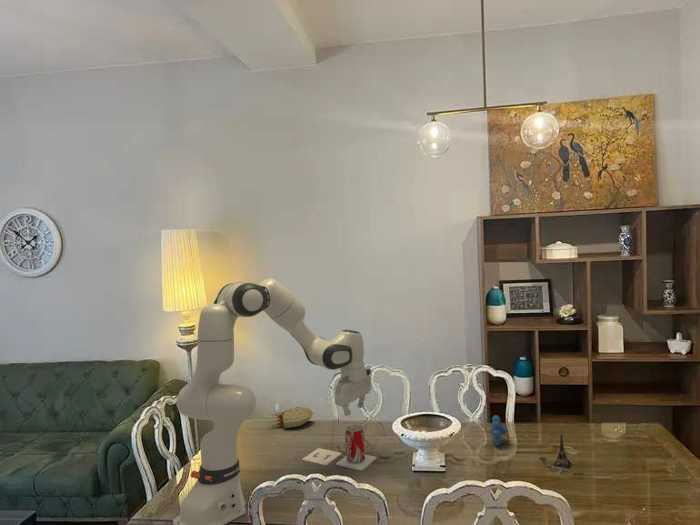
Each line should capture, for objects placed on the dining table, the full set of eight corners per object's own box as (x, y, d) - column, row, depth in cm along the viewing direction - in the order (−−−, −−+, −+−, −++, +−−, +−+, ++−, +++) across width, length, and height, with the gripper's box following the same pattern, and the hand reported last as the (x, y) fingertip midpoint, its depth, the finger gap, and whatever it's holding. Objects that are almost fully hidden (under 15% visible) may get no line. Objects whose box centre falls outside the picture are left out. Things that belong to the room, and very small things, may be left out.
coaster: (362, 470, 179) (362, 469, 179) (336, 464, 185) (336, 463, 185) (376, 458, 189) (376, 457, 189) (351, 453, 194) (351, 451, 194)
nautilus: (264, 435, 218) (267, 424, 233) (314, 428, 220) (313, 417, 235) (262, 416, 218) (265, 407, 233) (312, 410, 220) (312, 400, 235)
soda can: (363, 464, 183) (362, 432, 182) (344, 464, 184) (343, 431, 183) (366, 456, 190) (365, 424, 189) (348, 455, 191) (346, 424, 190)
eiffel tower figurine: (537, 458, 184) (536, 422, 183) (564, 456, 184) (563, 420, 184) (556, 478, 169) (555, 438, 168) (586, 475, 169) (585, 436, 169)
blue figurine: (509, 452, 189) (508, 420, 188) (490, 451, 191) (489, 419, 190) (508, 439, 200) (507, 410, 199) (490, 438, 202) (489, 409, 201)
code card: (326, 465, 185) (326, 464, 185) (301, 459, 191) (301, 459, 190) (342, 453, 194) (342, 453, 194) (318, 448, 200) (318, 448, 200)
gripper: (344, 381, 175) (346, 421, 175) (373, 368, 192) (374, 404, 192) (329, 379, 178) (331, 418, 178) (359, 367, 195) (360, 402, 196)
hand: (354, 411), depth 186 cm, fingers open, 8 cm apart
